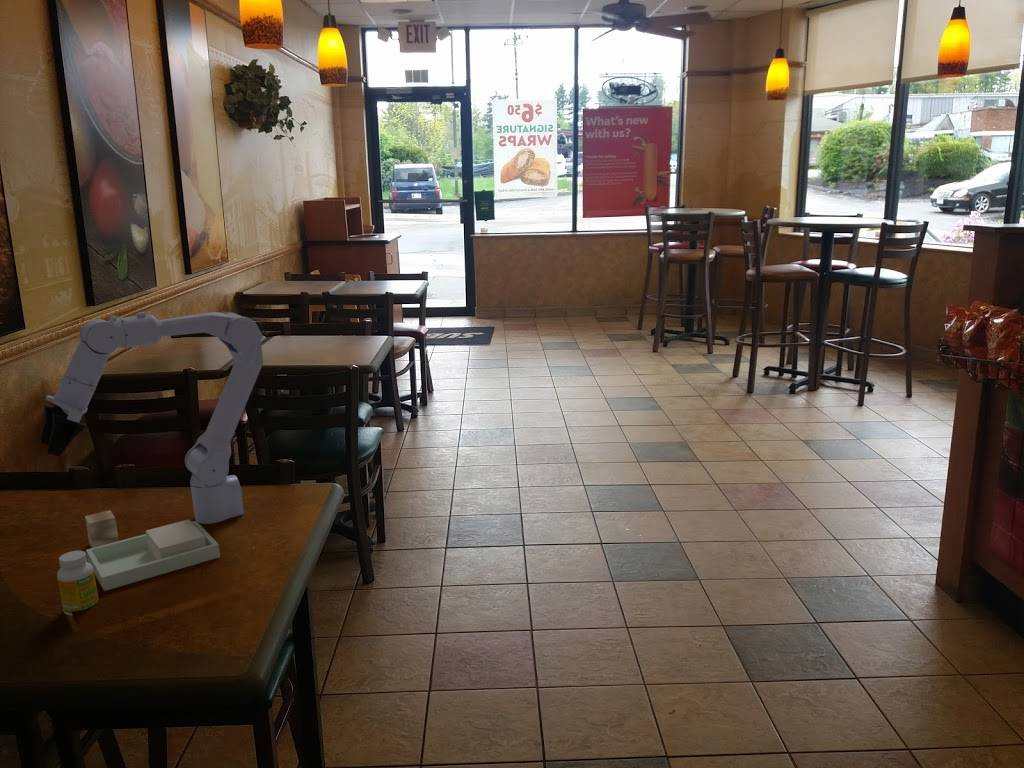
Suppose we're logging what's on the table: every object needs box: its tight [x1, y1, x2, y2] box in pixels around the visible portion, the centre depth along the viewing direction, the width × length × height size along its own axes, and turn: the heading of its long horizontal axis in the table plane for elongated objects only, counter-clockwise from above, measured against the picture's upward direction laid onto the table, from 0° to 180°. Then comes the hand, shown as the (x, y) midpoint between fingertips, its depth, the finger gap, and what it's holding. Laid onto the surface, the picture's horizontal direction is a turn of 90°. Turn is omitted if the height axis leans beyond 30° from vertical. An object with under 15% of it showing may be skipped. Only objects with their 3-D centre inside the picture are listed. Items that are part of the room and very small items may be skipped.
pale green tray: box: [85, 520, 221, 592], centre depth 152 cm, size 20×14×4 cm
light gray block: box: [145, 519, 206, 560], centre depth 154 cm, size 8×10×4 cm
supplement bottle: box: [56, 550, 99, 617], centre depth 136 cm, size 5×5×10 cm
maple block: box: [84, 509, 120, 549], centre depth 158 cm, size 4×4×7 cm
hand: (49, 449), depth 150 cm, fingers open, 7 cm apart
